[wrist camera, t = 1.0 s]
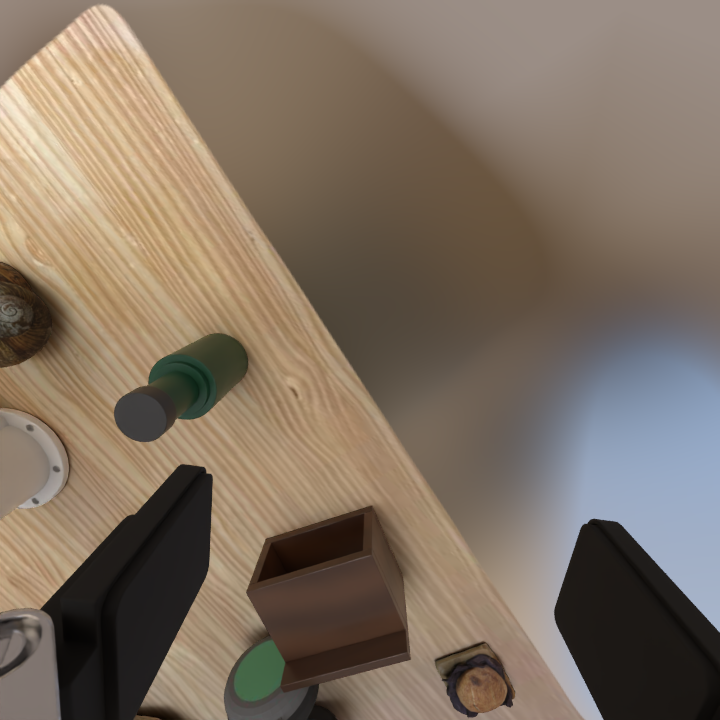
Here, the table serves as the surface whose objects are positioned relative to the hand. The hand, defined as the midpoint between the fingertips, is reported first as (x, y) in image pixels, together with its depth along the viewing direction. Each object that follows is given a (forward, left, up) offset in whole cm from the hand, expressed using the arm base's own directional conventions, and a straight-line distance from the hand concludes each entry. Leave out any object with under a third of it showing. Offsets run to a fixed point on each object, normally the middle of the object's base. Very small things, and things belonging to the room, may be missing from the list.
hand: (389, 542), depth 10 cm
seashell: (-15, -35, -33) cm, 51 cm away
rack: (+26, -15, -33) cm, 45 cm away
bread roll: (+48, 0, -31) cm, 57 cm away
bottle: (-2, -17, -33) cm, 37 cm away
